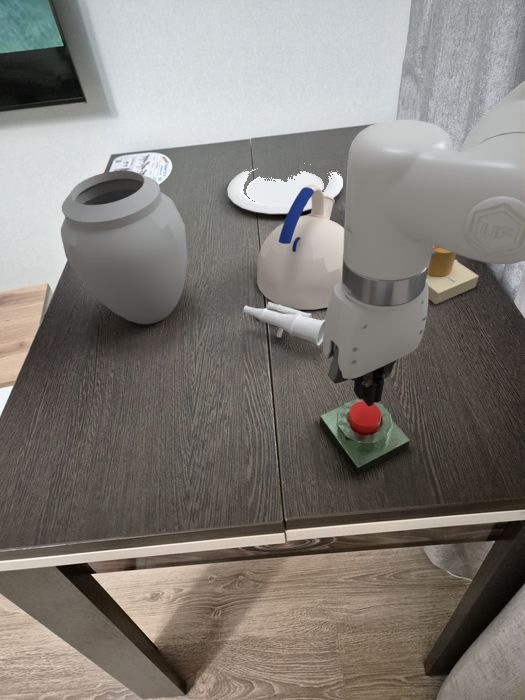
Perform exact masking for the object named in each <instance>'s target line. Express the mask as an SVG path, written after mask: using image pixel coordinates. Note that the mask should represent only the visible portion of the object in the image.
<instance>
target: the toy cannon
mask: <svg viewBox="0 0 525 700" xmlns="http://www.w3.org/2000/svg"><path fill="white" fill-rule="evenodd" d="M242 312H243V314H244V315H245V314H246V315H249V316H252V317H253V318H256V319H257V320H259V321H260V322H261V323H266V324H269V325H272V326H274V327H278V329H277V332H276V334H275V335H276V336H275V337H277V338H282V336H283V332H284V331H285V332H286V333H288V334H289V336H290V337H291V338H296V337H297V338H300V339H303V340H305V341H308V342H311V343H314V344H315V346H318V347H319V346H321V344H323V335H324V326H325V319H322V320H321V319H316V318H313V317H312V316H313V314H312V313H310V312H305V311H302V310H299V309H292V308H288V307H284V306H281V305H280V304H276V303H274V302H272V301H268V302H267V304H266V307H265V308H255V307H253V306H248V305H244V307H243V310H242Z"/></svg>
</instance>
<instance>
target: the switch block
mask: <svg viewBox="0 0 525 700" xmlns="http://www.w3.org/2000/svg"><path fill="white" fill-rule="evenodd" d="M361 401H363V399H359V398H358V397H357V398H354V399H351V400H350V401H347V402H345V403H344V404H341V405H339V406H338V407H335V408H333V409H331V410H329V411H327V412H325V413H323V414H321V415H320V416H319V425H320V426H321V429H322V430H323V431H324V432H325V434H326V435H327V436H328V438H329V439H330V441H331V442H332V443H333V446H334V447H335V448H336V449H337V450H338V452H339V454H340V455H341V456H342V457H343V459H344V460H345V462H346V463H347V465H348V466H349V467H350V469H351V470H352V471H353V473H354V474H355V476H359V475H361V474H364V473H366V472H367V471H370V470H371V469H372V468H374V467H377V466H379V465H380V464H382V463H384V462H386V461H388V460H390V459H392V458H394V457H397V456H398V455H400V454H401V453H403V452H405V451H407V450H408V448H409V445H410V442H411V440H410V438H409V437H408V436H407V435H406V434H405V432H404V431H403V430H402V429H401V428H400V427H399V426H398V425H397V424H396V422H395V421H394V420H393V418H392V414H391V413H390V412H389V410H388V409H387V408H386V407H385V405H383V404H382V403H380V402H378V403H376V402H374V404H375V405H376V406H377V407H378V408H379V409H380V411H381V422H380V426H379V428H378V430H377V431H375V432H374V433H372V434H360V433H358V432H356V431H354V430H353V429H352V428H351V426H350V424H349V412H350V408H351V407H352V406H353V405H354V404H355V403H357V402H361Z"/></svg>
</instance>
